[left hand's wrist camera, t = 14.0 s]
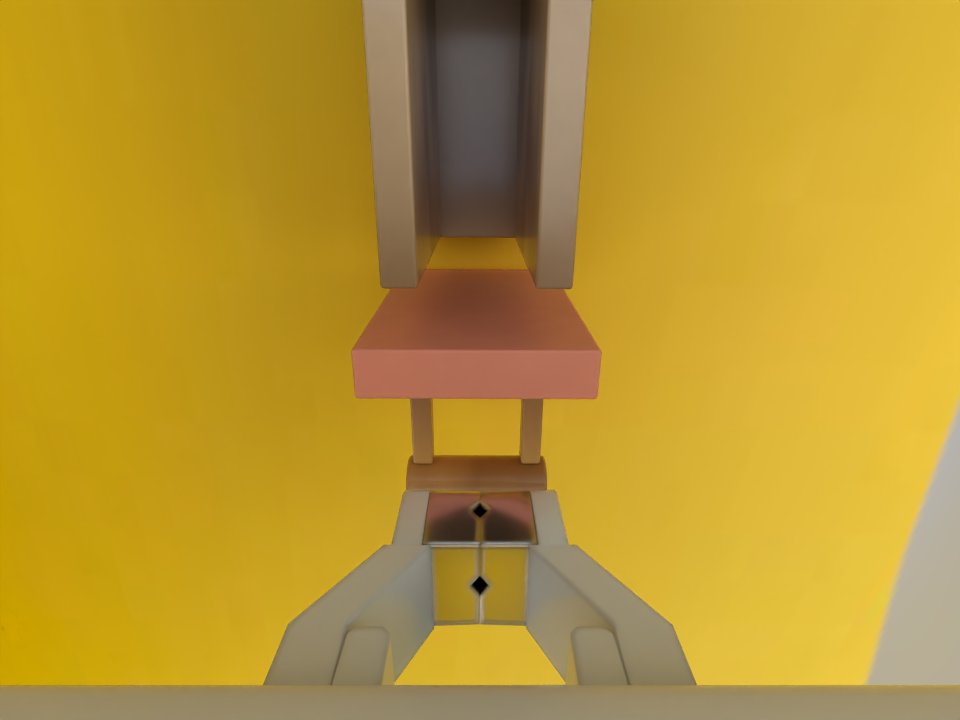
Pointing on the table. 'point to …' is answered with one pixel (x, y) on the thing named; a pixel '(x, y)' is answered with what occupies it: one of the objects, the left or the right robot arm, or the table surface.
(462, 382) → the drawer
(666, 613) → the table surface
